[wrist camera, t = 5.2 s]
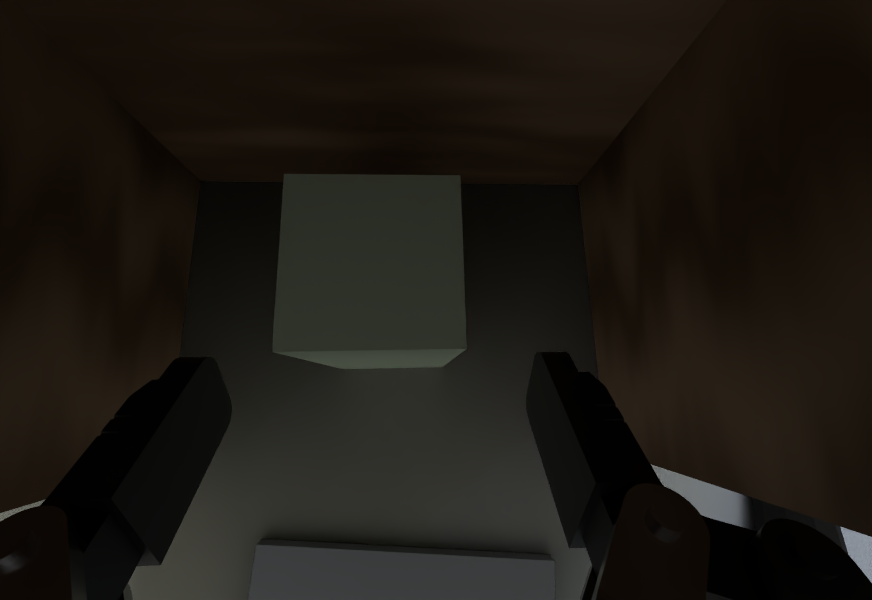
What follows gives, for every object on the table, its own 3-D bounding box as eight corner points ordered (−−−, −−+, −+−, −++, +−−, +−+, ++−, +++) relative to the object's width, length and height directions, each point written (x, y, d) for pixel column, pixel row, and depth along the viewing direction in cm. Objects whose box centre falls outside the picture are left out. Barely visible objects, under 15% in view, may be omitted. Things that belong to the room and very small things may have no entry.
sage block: (439, 273, 19) (460, 175, 10) (441, 367, 18) (467, 348, 9) (345, 273, 19) (283, 173, 10) (342, 369, 18) (271, 351, 9)
